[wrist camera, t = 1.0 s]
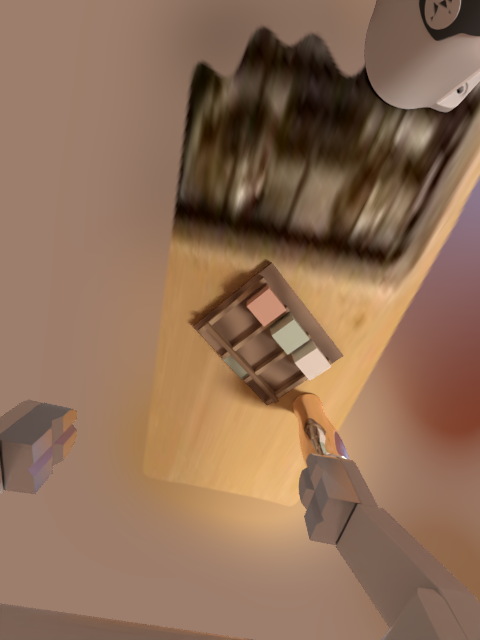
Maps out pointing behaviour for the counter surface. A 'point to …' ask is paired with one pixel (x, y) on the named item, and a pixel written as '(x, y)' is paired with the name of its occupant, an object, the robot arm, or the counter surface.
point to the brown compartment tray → (262, 337)
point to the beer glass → (316, 429)
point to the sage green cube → (288, 333)
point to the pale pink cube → (310, 360)
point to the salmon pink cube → (265, 305)
